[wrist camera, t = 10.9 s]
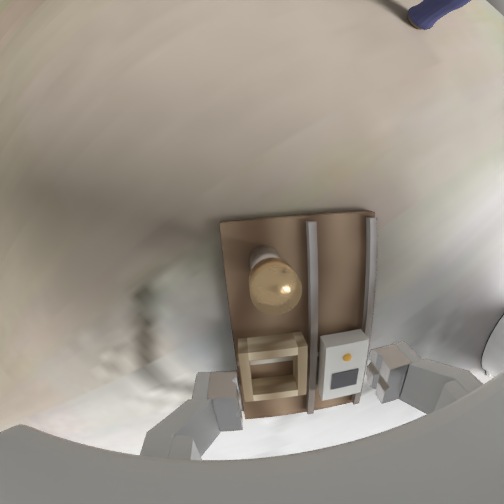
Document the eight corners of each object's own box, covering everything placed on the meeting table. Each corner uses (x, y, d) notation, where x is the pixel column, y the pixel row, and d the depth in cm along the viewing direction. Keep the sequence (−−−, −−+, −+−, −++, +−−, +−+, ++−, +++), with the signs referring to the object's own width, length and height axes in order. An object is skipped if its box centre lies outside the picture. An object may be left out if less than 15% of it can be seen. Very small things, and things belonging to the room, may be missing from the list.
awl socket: (301, 331, 29) (307, 345, 26) (301, 378, 30) (306, 394, 28) (237, 338, 29) (238, 353, 26) (244, 385, 30) (244, 401, 27)
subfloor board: (368, 210, 28) (379, 212, 25) (354, 394, 34) (360, 404, 31) (220, 221, 27) (218, 224, 25) (245, 411, 33) (245, 424, 31)
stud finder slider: (360, 328, 29) (371, 341, 26) (353, 380, 31) (362, 394, 28) (319, 336, 29) (327, 350, 26) (317, 388, 30) (323, 403, 27)
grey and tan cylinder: (281, 240, 26) (301, 264, 18) (283, 275, 27) (302, 312, 19) (244, 244, 26) (247, 269, 18) (247, 279, 27) (252, 317, 19)
